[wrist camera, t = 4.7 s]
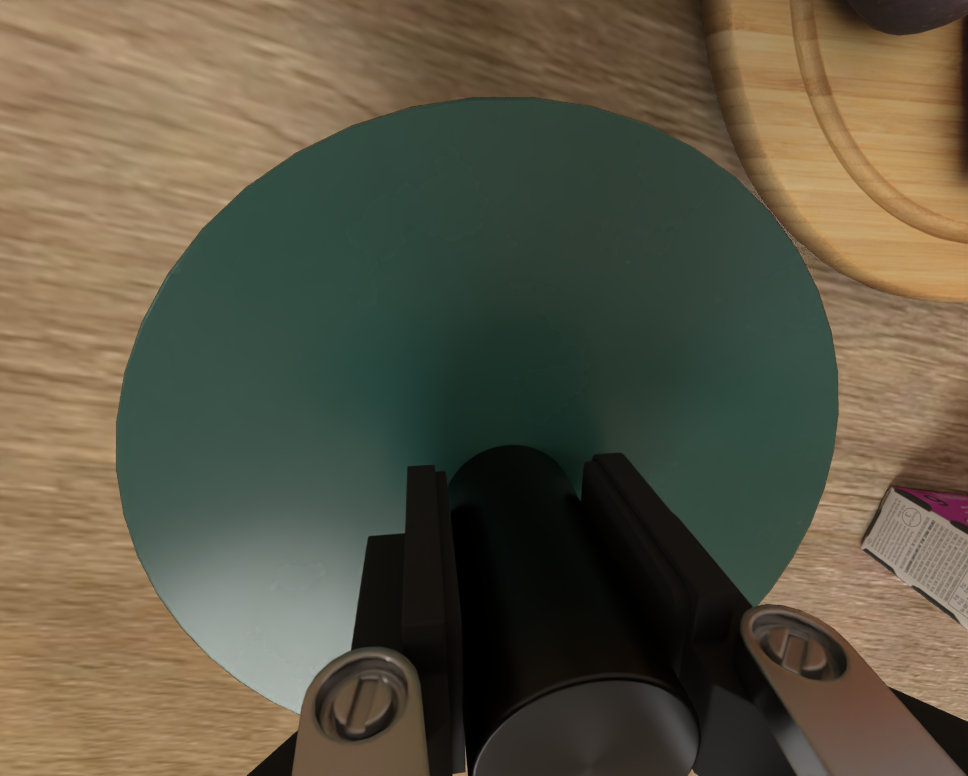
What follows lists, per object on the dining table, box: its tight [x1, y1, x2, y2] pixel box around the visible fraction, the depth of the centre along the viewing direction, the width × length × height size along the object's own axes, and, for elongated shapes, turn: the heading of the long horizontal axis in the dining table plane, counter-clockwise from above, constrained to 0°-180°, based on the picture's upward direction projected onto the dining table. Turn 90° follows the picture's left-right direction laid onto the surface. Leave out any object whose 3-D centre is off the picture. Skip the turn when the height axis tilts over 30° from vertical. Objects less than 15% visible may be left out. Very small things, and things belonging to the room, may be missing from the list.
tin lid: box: [116, 97, 839, 776], centre depth 9 cm, size 16×16×7 cm
